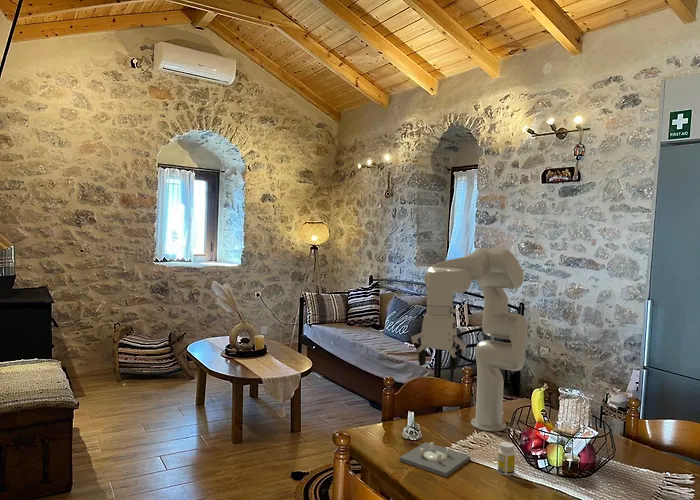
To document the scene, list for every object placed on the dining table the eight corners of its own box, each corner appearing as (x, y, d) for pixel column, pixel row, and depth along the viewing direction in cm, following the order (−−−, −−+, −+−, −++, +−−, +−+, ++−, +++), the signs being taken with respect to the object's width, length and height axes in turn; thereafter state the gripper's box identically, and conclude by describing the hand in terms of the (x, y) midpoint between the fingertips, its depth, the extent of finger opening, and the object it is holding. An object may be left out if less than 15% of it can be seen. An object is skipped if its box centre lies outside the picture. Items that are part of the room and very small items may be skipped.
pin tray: (425, 445, 177) (426, 434, 177) (470, 459, 167) (470, 447, 167) (399, 461, 165) (399, 449, 164) (445, 477, 155) (446, 464, 155)
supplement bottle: (514, 470, 160) (515, 442, 160) (514, 477, 156) (515, 448, 156) (498, 467, 162) (499, 440, 162) (497, 474, 158) (498, 446, 157)
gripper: (471, 312, 159) (469, 369, 159) (417, 306, 168) (415, 360, 168) (462, 315, 152) (460, 374, 153) (407, 309, 161) (405, 365, 162)
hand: (437, 367), depth 161 cm, fingers open, 9 cm apart
